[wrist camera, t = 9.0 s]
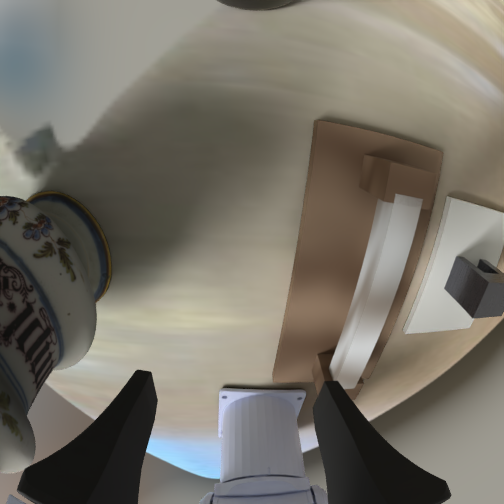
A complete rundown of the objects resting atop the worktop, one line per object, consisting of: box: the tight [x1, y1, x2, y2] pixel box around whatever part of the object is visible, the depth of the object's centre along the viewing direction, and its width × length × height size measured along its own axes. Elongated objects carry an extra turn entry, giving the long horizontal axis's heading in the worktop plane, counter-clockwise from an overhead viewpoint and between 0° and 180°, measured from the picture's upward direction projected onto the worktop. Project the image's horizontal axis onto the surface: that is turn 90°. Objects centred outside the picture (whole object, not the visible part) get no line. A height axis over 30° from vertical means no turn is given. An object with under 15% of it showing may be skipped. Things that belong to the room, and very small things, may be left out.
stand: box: [272, 120, 443, 400], centre depth 18 cm, size 20×9×4 cm, turn 175°
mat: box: [403, 196, 504, 334], centre depth 20 cm, size 12×9×1 cm
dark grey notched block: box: [444, 256, 504, 318], centre depth 17 cm, size 3×4×4 cm
